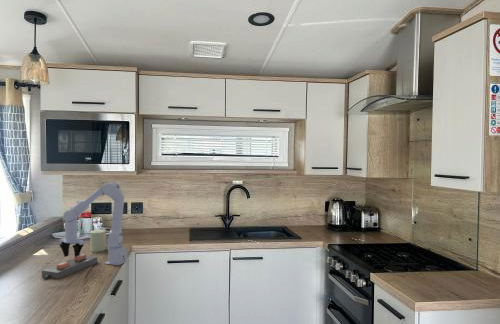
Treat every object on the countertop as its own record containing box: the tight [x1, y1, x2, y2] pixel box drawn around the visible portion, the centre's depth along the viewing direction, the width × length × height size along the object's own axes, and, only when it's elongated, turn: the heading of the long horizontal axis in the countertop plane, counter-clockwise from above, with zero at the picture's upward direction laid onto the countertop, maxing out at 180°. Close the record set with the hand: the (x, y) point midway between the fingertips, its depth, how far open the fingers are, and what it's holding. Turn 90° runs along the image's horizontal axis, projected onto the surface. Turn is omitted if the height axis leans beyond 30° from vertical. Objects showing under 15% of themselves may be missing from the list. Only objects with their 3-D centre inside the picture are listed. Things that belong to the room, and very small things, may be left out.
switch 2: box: [73, 253, 87, 261], centre depth 185 cm, size 3×5×2 cm, turn 162°
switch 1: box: [56, 261, 70, 269], centre depth 172 cm, size 3×5×2 cm, turn 162°
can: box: [89, 229, 107, 253], centre depth 215 cm, size 9×9×12 cm
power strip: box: [41, 255, 98, 280], centre depth 177 cm, size 10×29×3 cm, turn 162°
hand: (71, 256), depth 187 cm, fingers open, 7 cm apart
